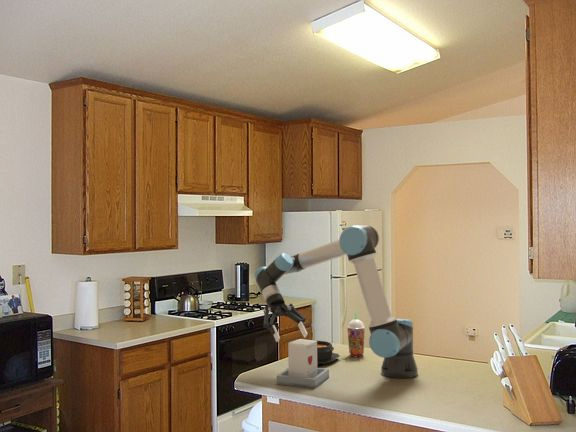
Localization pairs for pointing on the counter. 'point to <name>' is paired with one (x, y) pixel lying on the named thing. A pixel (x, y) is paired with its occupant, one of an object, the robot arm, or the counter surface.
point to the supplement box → (302, 358)
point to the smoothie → (356, 337)
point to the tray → (303, 379)
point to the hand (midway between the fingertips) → (292, 337)
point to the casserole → (325, 353)
